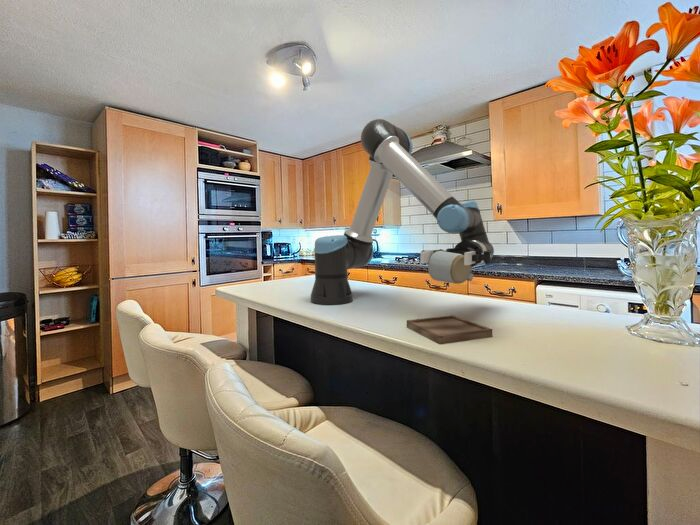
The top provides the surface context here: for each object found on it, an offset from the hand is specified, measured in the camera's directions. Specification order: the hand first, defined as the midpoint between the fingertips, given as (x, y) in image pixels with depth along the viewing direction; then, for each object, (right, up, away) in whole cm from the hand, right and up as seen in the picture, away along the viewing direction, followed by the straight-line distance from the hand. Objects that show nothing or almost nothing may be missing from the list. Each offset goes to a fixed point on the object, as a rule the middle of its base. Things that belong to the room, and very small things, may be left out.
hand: (443, 258), depth 72 cm
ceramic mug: (+4, -6, +5) cm, 9 cm away
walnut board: (+2, -17, +5) cm, 18 cm away
